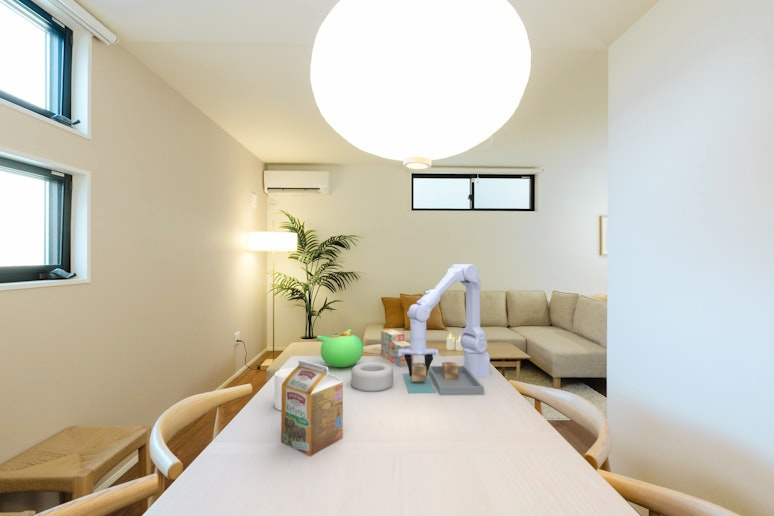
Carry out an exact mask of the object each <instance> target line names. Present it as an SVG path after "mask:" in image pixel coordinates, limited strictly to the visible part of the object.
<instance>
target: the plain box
mask: <svg viewBox="0 0 774 516" xmlns="http://www.w3.org/2000/svg"><path fill="white" fill-rule="evenodd" d="M441 366H442V376H443V377H444V379H458V366H459V365H458V364H457V362H456V361H443V362H441Z"/></svg>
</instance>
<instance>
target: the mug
mask: <svg viewBox="0 0 774 516" xmlns="http://www.w3.org/2000/svg"><path fill="white" fill-rule="evenodd" d="M294 369H295V367H293V368H282V369H279V370H276V371H275V373H274V407H275V409H276V410H277V411H280V412H281V410H282V384H283V382H284V381H285V379H286V378H287V377H288V376H289V375H290V373H291V372H292V371H293V370H294Z"/></svg>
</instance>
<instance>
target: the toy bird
mask: <svg viewBox="0 0 774 516" xmlns="http://www.w3.org/2000/svg"><path fill="white" fill-rule="evenodd" d="M316 339H317V340H319V341H320V342H321V343H322V344H321V346H320V356H321V358H322V360H323V361H324V363H326V364H327V365H329V366H331V367H334V368H347V367H351V366H353V365H354V364H355V365H356V364H357V362H359V361H360V360H361V358H362V357H363V354H364V345H363V342H362V340H361V339H360V337H358V336H357V335H354V334H352V329H351V328H350V329H348V330H346V331H344V332H339V333H334V334H331V335H330V336H325V335H316Z"/></svg>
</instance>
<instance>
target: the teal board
mask: <svg viewBox="0 0 774 516" xmlns="http://www.w3.org/2000/svg"><path fill="white" fill-rule="evenodd" d="M402 374H403V375H402V376H403V379H404V382H405V386H406V390H407V393H408V394H436V390H435V388H434V387H433V385H432V381H431V380H430V378H429V376H428V375H427V376H426V381H412V379H411V376H410V375H409V372H408V373H407V372H406V373H405V372H403V373H402Z"/></svg>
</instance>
